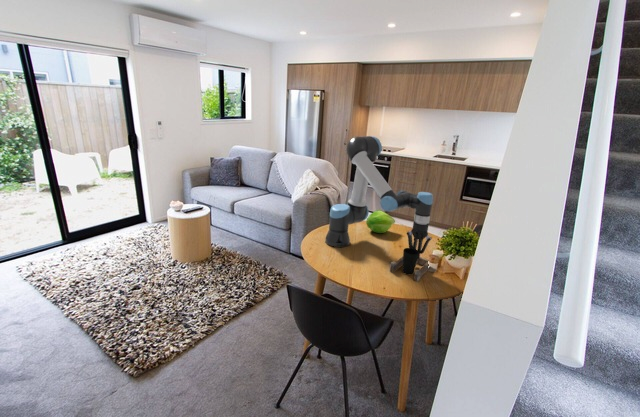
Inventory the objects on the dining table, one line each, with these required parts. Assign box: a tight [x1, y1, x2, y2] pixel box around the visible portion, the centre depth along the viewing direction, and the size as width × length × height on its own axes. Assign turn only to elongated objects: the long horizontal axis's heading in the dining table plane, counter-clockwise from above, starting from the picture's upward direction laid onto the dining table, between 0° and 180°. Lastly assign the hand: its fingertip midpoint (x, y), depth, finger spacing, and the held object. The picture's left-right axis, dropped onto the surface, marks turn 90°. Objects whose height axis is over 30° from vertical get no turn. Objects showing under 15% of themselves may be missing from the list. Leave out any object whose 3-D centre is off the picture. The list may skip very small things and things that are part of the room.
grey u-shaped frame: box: [389, 256, 430, 283], centre depth 163 cm, size 15×20×5 cm
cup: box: [402, 247, 419, 276], centre depth 159 cm, size 8×8×12 cm
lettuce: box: [365, 210, 396, 234], centre depth 210 cm, size 15×20×14 cm
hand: (414, 263), depth 166 cm, fingers closed
